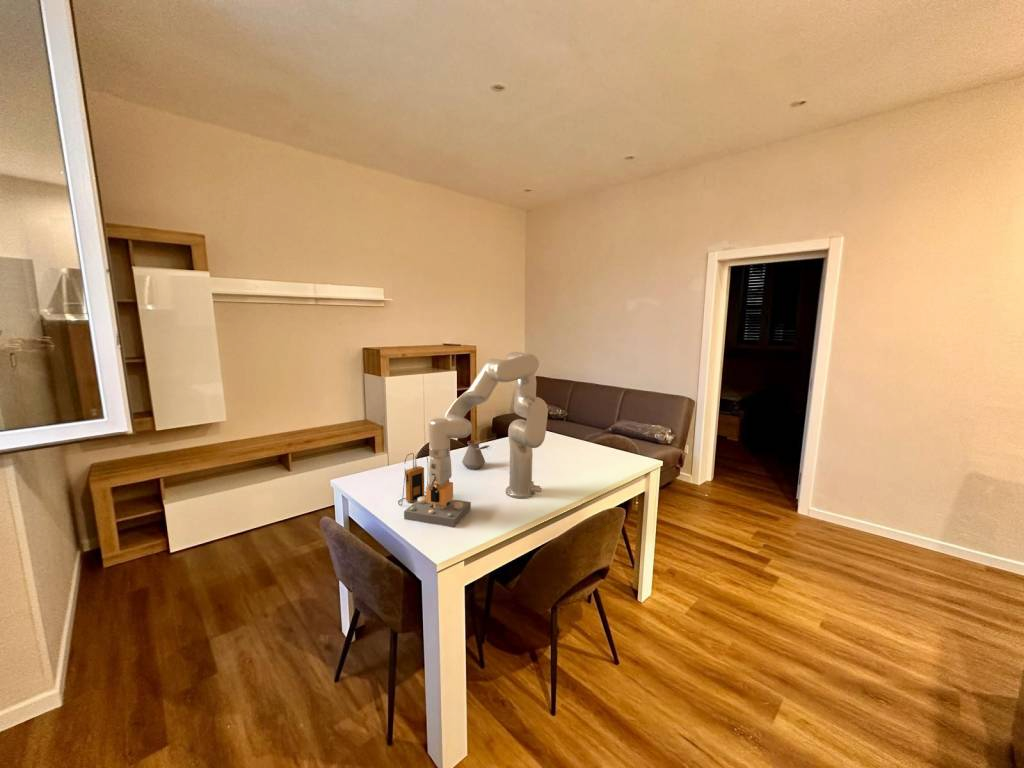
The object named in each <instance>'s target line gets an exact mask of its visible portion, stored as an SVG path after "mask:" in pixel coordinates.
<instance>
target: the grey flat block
mask: <svg viewBox="0 0 1024 768" xmlns="http://www.w3.org/2000/svg"><path fill="white" fill-rule="evenodd" d="M471 504H472V502H471V501H466V500H460V499H459V500H458V499H454V498H452V499H451V500H450V501H449V502H448V503H447V507H446V508H445V509H439V508H434V504H433V503H426V495H425V494H424V496H422V497H418V500H416V501H414V503H412V504H411V505H410V506H409V507H407V508H406V509H405V510H404V511H403V519H404V520H407V521H408V520H409V521H414V522H420V523H426V524H432V525H438V526H443V527H451V528H455V527H456V526H457V525H458V524H459V523H460V522H461V521H462V520H463V519H464V517H465V516H466V515H467V514H468V513H469V512H470V511H471V510H472V505H471Z"/></svg>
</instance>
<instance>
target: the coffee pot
mask: <svg viewBox="0 0 1024 768" xmlns="http://www.w3.org/2000/svg"><path fill="white" fill-rule="evenodd" d="M480 443H481V441H480V440H472V439H471V440H468V441H467V443H466V444H467V449H466V452H465V454H464V456H463V458H462V460H461V462H462V464H463V466H464V467H465V468H466V469H468V470H478V469H479V470H480V469H481V468H482V467H483V466H484V465H485V464H486V459H485V458H484V455H483V453H482V451H481V450H484V449H486V450H491V448H492V447H490V445H483V446H481V447H480ZM488 448H489V449H488Z"/></svg>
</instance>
